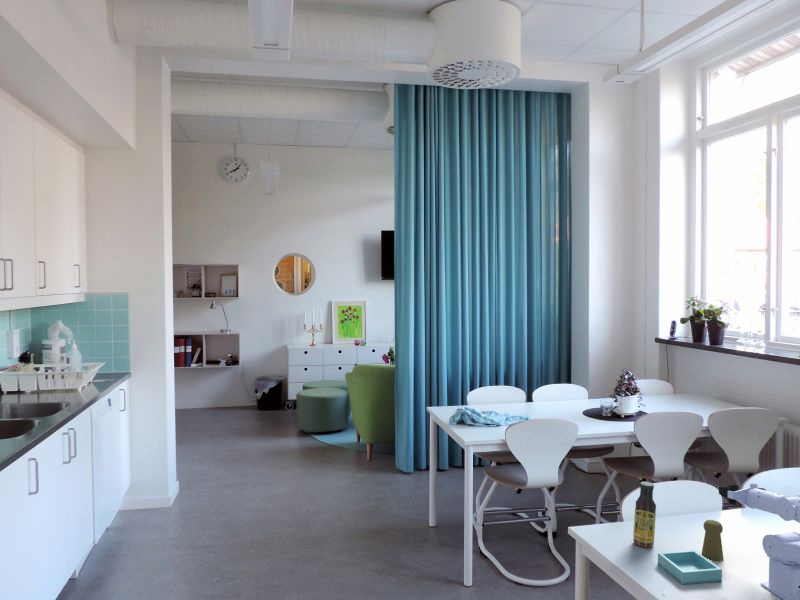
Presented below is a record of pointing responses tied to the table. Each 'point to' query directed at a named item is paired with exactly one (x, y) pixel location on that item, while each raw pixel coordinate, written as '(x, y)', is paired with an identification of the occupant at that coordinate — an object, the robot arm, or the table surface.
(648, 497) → the sauce bottle
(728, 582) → the table surface
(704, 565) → the teal bin
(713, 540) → the cork
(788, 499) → the robot arm
